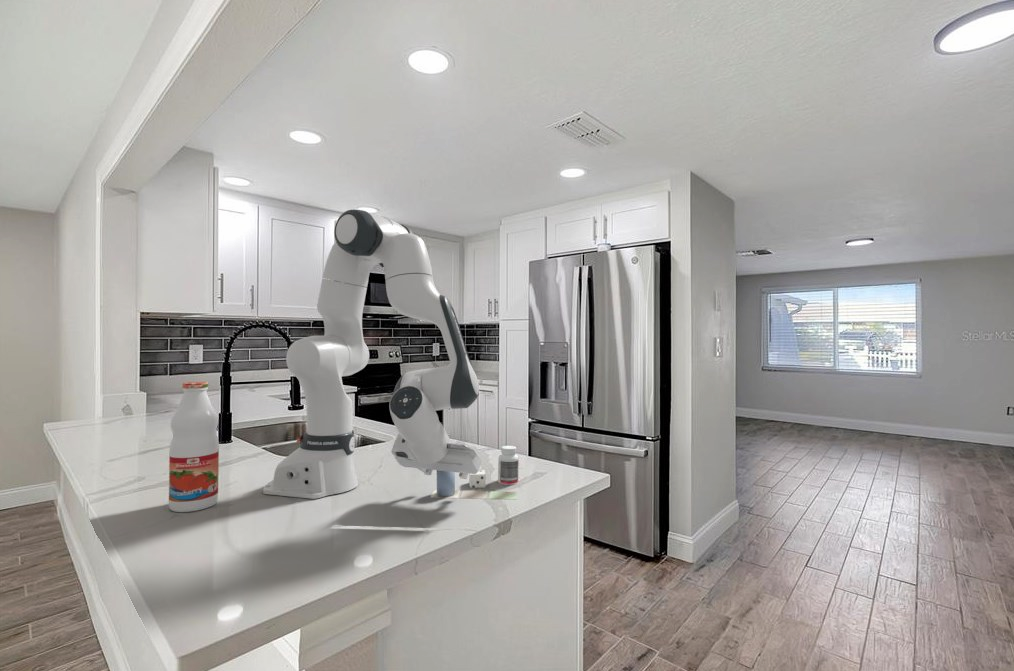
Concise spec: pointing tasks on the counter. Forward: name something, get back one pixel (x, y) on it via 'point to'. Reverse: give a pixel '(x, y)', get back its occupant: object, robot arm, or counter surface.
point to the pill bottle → (508, 466)
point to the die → (477, 479)
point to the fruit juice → (194, 451)
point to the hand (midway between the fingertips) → (446, 474)
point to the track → (479, 495)
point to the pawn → (445, 483)
